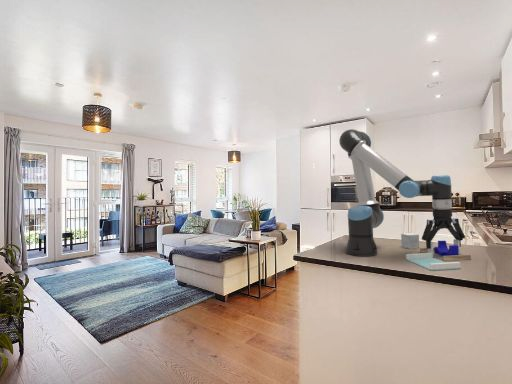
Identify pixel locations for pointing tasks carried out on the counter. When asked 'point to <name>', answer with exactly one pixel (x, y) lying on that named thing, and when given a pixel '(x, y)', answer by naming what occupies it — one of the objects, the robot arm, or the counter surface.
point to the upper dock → (449, 258)
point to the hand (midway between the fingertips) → (443, 254)
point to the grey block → (410, 240)
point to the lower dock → (431, 262)
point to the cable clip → (446, 249)
